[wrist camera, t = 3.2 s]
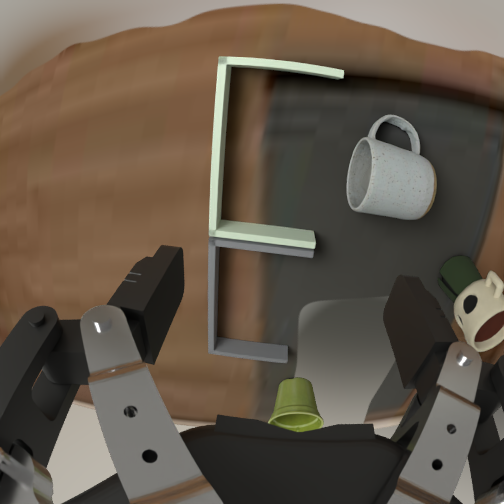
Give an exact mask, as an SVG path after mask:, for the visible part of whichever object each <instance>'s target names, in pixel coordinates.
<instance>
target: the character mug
mask: <svg viewBox="0 0 504 504" xmlns="http://www.w3.org/2000/svg"><path fill="white" fill-rule="evenodd" d="M440 273H441V275H442V276H443V282H442V281H441V280H440V279H439V278H438V282H439V286H440V287H441V289H442V290H443V291H444V292H445V294H446V295H447V296H448V297H449V298H450V299H451V300H452V301H453V302H454V315H455V318H456V321H457V323H458V325H459V326H460V327H461V328H462V330H463V332H464V335H465V339H466V341H467V343H468V344H469V345H470V346H472V347H473V348H474V349H475V350H476V351H477V352H482V351H486V350H489V349H491V348H493V347H495V346H496V345H497V344H499V343H500V342H501V341H502V340H503V339H504V295H503V294H502V291H503V289H504V284H503V282H502V280H501V279H500V278H499V277H498V276H497V274H496V273H495V272H493V271H490V272H489V273H488V275H487V278H486V279H482V277H481V275H480V273H479V272H478V270H477V268H476V267H475V265H474V264H473V262H472V261H471V259H470V258H469V257H466V256H456V257H452V258H451V259H450V260H448V261H447V262H446V263H445V264H444V265H443V267H442V268H441V270H440Z"/></svg>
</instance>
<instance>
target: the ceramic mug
mask: <svg viewBox="0 0 504 504" xmlns="http://www.w3.org/2000/svg"><path fill="white" fill-rule="evenodd" d="M383 122H388V123H391V124H393V125H396V126H398V127H400V128H401V129H402V130H405V131H406V132H407V134H408V135H409V137H410V140H411V144H412V152H411V151H408V150H405V149H402V148H399V147H396V146H394V145H391V144H388V143H385V142H382V141H379V140H376V138H375V135H376V132H377V130H378V128H379V126H380V124H381V123H383ZM419 153H420V141H419V137H418V134H417V132H416V131H415V129H414V128H413V126H412V125H411V124H410V123H409V122H408V121H406V120H405V119H403V118H401V117H398V116H395V115H386V116H384V117H382V118H380V119H379V120H378V121H376V122H375V123H374V124H373V126H372V128H371V130H370V132H369V135H368V137H364V138H362V139H361V140H360V141H359V143H358V144H357V146H356V147H355V149H354V151H353V155H352V158H351V161H350V165H349V170H348V176H347V197H348V202H349V205H350V207H351V208H352V209H353V210H354V211H356V212H363V213H370V214H376V215H382V216H389V217H394V218H399V219H406V220H414V219H419V218H421V217H423V216H424V215H425V214H426V213H427V212H428V211H429V210H430V208H431V206H432V204H433V202H434V199H435V195H436V190H437V179H436V174H435V170H434V168H433V166H432V164H431V163H430V162H429V161H428V160H427V159H425V158H424V157H422V156H421V155H419Z"/></svg>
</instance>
